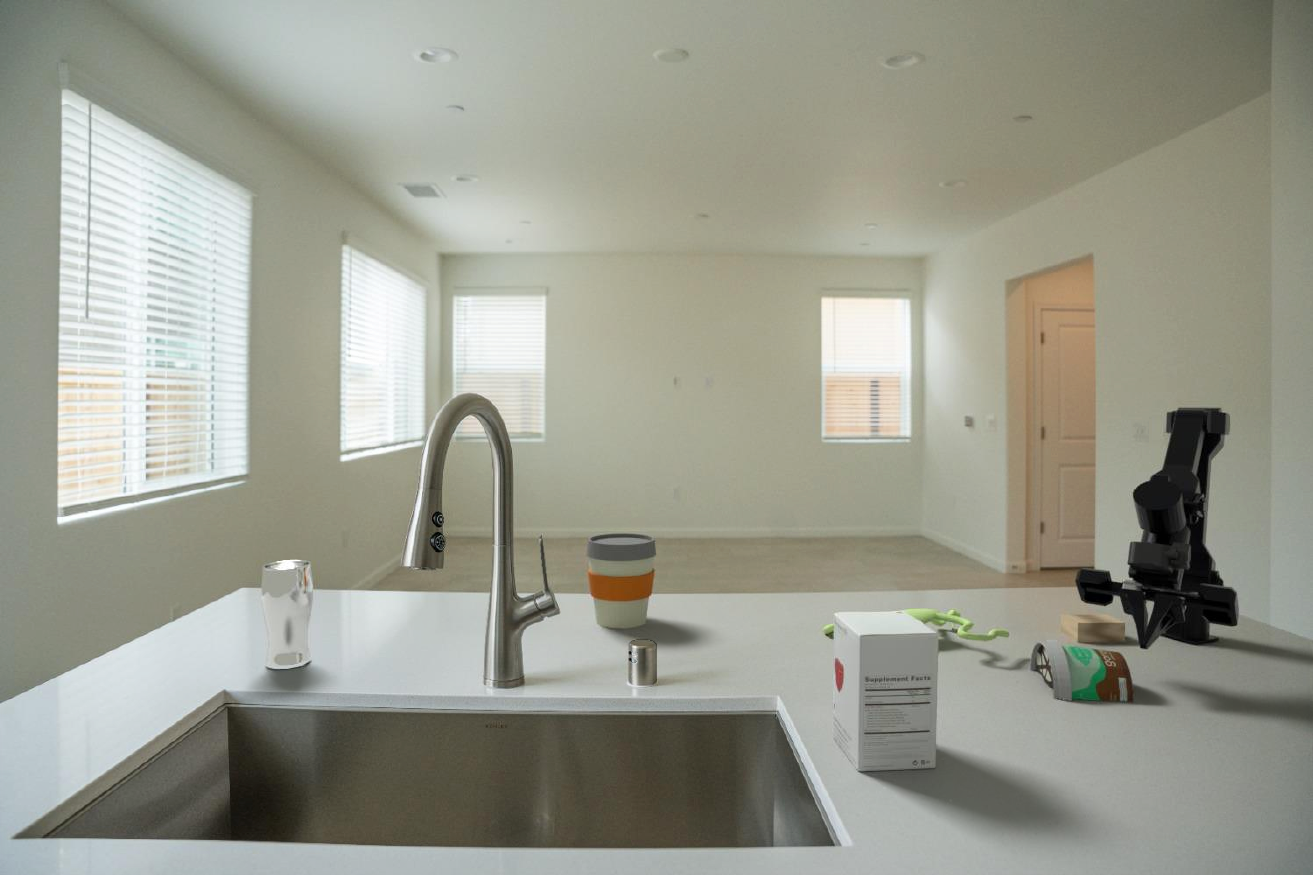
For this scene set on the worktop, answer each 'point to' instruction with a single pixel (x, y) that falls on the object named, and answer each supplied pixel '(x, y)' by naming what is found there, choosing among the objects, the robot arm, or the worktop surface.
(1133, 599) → the robot arm
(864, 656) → the supplement box
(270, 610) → the beer glass
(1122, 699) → the food container
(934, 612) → the figurine
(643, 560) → the reusable coffee cup
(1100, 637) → the oak block
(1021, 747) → the worktop surface
